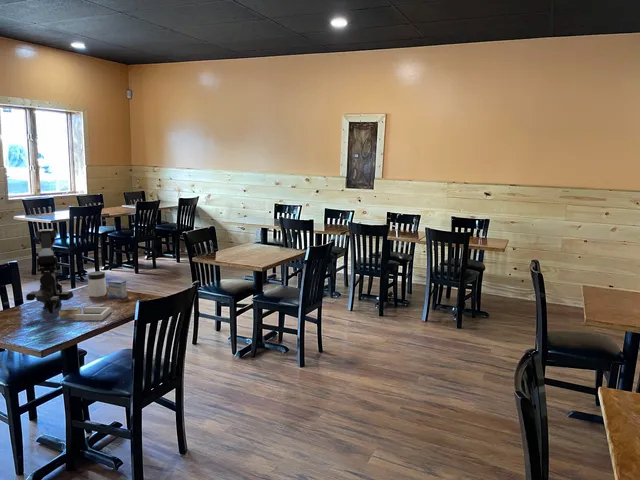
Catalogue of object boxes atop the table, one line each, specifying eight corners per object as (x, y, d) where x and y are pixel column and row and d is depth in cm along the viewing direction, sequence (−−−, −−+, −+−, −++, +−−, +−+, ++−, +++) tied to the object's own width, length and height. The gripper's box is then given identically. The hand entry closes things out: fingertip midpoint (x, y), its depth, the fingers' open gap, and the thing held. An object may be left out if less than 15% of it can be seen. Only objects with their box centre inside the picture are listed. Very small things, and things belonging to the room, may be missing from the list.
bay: (73, 320, 213) (73, 315, 213) (84, 312, 224) (84, 307, 224) (101, 320, 214) (101, 314, 214) (111, 312, 225) (110, 307, 224)
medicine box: (108, 297, 247) (107, 281, 245) (113, 295, 251) (112, 279, 250) (122, 298, 246) (121, 282, 244) (127, 296, 250) (126, 280, 249)
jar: (91, 298, 246) (90, 276, 244) (86, 294, 252) (84, 273, 249) (109, 294, 252) (107, 273, 250) (103, 291, 258) (102, 270, 255)
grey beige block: (59, 318, 215) (58, 310, 215) (63, 315, 220) (62, 307, 219) (77, 318, 217) (77, 309, 216) (81, 314, 222) (80, 306, 221)
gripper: (17, 286, 206) (21, 319, 209) (61, 286, 208) (63, 319, 210) (31, 279, 217) (34, 311, 220) (72, 279, 218) (75, 311, 221)
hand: (51, 313), depth 218 cm, fingers closed
